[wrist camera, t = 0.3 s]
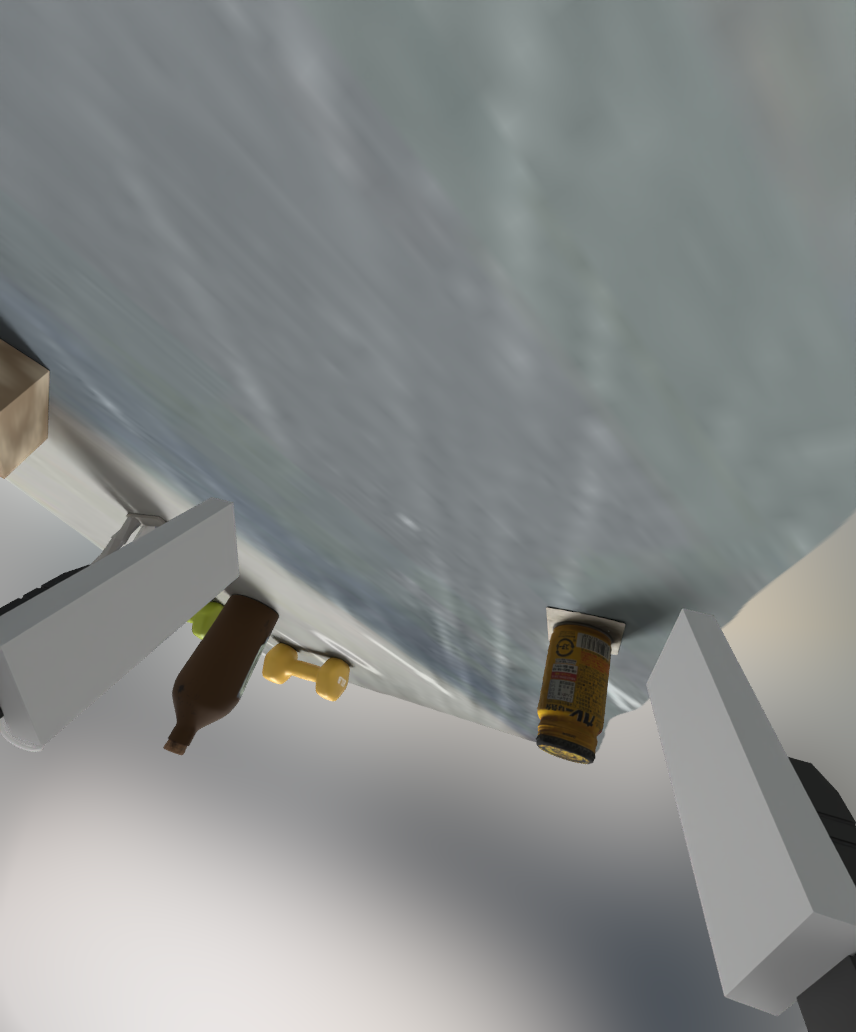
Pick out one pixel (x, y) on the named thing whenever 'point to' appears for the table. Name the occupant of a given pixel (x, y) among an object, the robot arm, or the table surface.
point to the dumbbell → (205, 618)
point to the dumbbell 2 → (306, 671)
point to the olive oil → (219, 668)
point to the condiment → (575, 683)
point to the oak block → (21, 407)
